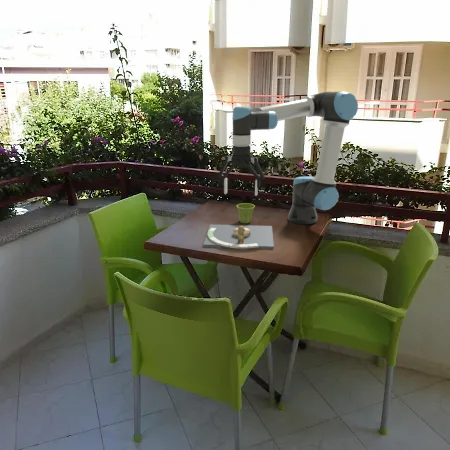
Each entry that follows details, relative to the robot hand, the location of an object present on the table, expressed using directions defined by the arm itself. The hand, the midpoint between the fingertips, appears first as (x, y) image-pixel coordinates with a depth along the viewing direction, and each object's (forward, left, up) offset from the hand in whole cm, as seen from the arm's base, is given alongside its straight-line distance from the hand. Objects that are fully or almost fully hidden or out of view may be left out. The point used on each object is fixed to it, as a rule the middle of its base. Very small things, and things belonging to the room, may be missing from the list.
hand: (240, 194), depth 170 cm
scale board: (+1, -3, -22) cm, 23 cm away
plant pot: (-1, -27, -23) cm, 35 cm away
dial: (0, -1, -21) cm, 21 cm away
